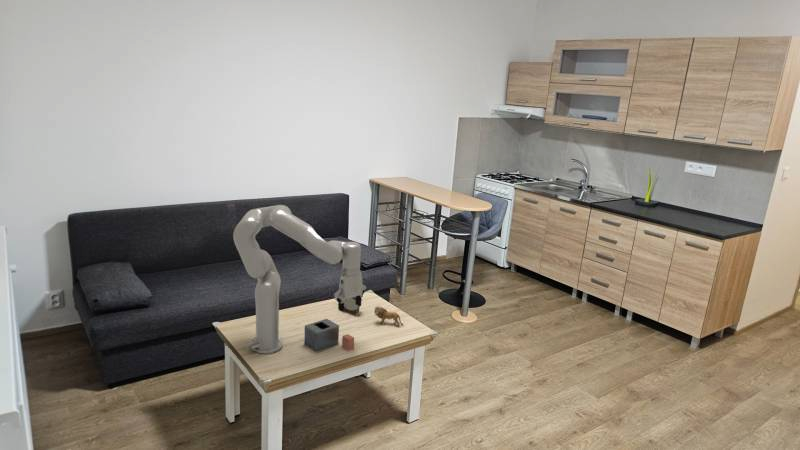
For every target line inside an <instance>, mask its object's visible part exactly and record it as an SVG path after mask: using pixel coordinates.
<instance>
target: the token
mask: <svg viewBox="0 0 800 450" xmlns="http://www.w3.org/2000/svg"><path fill="white" fill-rule="evenodd" d="M341 342H342V343H341V348H342V349H345V350H346V351H347V352H349V351H352V350H354V349H355V337H353V336H352V335H350V334H349V333H347V334H344V335H342V339H341Z"/></svg>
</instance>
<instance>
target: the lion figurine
mask: <svg viewBox="0 0 800 450" xmlns="http://www.w3.org/2000/svg"><path fill="white" fill-rule="evenodd" d="M374 315H375V316H376V317H377V318H379V319H381V321H380V325H381V326H383V325H384V324H385V320H393V322H392V324H393V325H396V324H397V325H396V328H400V325H402V326H404V323H402V322H401V317H400V315H399V314H398V312H395V311H394V312H393V311H388V310H387V309H386V308H383V306H379V305H378V306H375V307H374Z"/></svg>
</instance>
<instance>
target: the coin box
mask: <svg viewBox="0 0 800 450" xmlns="http://www.w3.org/2000/svg"><path fill="white" fill-rule="evenodd" d="M339 332H340V325H339V324H337V323H335V322H334V321H332V320H331V319H328V318H325V319H321V320H317V321H314V322H312V323H308V324H306V325H304V338H303V339H304V343H303V344H304V345H305V346H306V347H308V348H310V349H311V350H313V351H314V352H315V353H317V352H321V351H323V350H325V349H328V348H331V347H334V346H336V345H339V340H340V339H339V336H340V335H339Z"/></svg>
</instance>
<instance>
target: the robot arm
mask: <svg viewBox="0 0 800 450" xmlns="http://www.w3.org/2000/svg"><path fill="white" fill-rule="evenodd" d="M270 226H271V227H272V228H274V229H275V230H277V231H279V232H280V233H282V234H284V235H286V236H287V237H289V238H290V239H293V240H294V241H296V242H298V243H299V244H300V245H301V246H302V247H304V248H305V249H306V250H308V251H309V252H310V253H311V254H313V256H315V257H317V258H318V259H320V260H321V261H324V262H325V263H327V264H329V265H336V264H339V263H340V262H341V261H342V268H341V269H342V270H341V271H340V274H341V275H340V279H339V287H338V290H337V291H336V292H335V293H334V294H333V296H334V298H335V301H336V302H338V303H337V310H338V311H340V312H341V313H344V303H343V302H344V300H345V299H349V298H353V297H356V303H355V304H356V305H358V306H360V307H361V306H362V301H361V299H362V300H363V297H364V294H365V292H366V289H367V286H366V285H365V284H363V275H362V272H361V255H362V246H361V244H360V243H359V242H356V241H341V240H329V241H326V240H324V239H323V238H322V237H321V236H320V235H319V234H318V233H317V232H316V231H315V229H314V227H312V225H310V224H309V223H307V222H306V221H304V220H302V219H301V218H299V217H297V216H295V215H294V214H292V211H291V209H290V208H289V207H288V206H287V205H285V204H276V205H270V206H267V207H266V206H264V207H258V208H253V209H250V210H248V211H247V212H246V213H245V214H244V216H243V217H242V218H241V220H240V221H239V222H238V223H237V225H236V226H235V228H234V231H233V234H232V236H233V237H232V238H233V242H234V245H235V247H236V250H237V252H238V253H239V254H238V255H239V257H240V259H241V261H242V263H243V265H244V268H245V270H246V272H247V274H248V275H249V276H250V277H252V278H253V279H256V280H257V283H256V286H255V290H254V299H255V301H254V302H255V337H254V338H253V341H251V342H248V343H245V348H246V349H250V348H251V350H253V351H254V352H255V353H258V354H263V355H264V354H267V355H268V354H274V353H277V352H279V351H280V350H281V349H282V348H283V342H282V341H281V340H280V339H279V335H280V332H279V331H280V329H279V327H280V326H279V325H280V320H279V319H280V302H279V298H280V296H279V294H280V288H281V284H282V281H281V276H280V274H279V272H278V270H277V267H276V265H275V263H274V259H272V255H270V254H269V252H267V251H266V250H264V249H261V247H260V244H259V243H258V241H257V240H256V236H257V234H258V233H259V232H260V231H261V230H262V228H267V227H270ZM342 297H343V298H342ZM341 298H342V300H341Z"/></svg>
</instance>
